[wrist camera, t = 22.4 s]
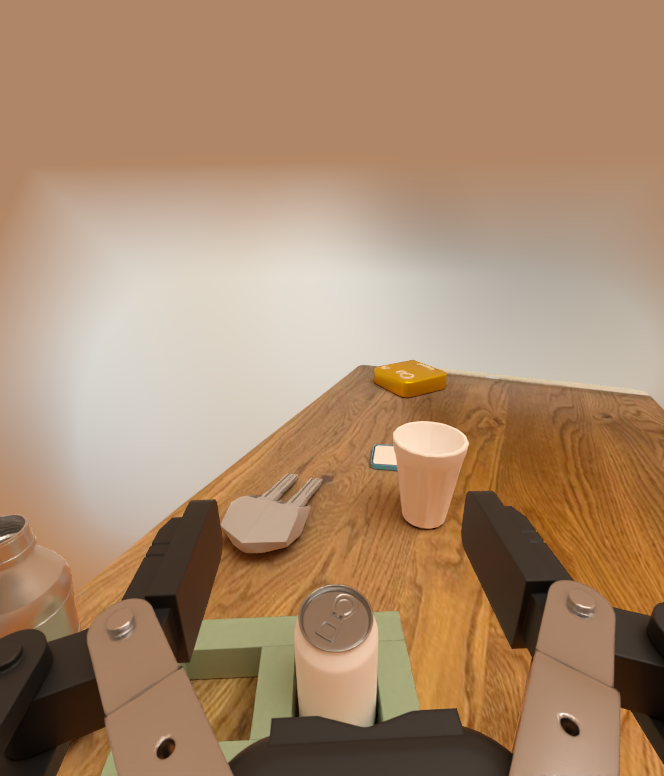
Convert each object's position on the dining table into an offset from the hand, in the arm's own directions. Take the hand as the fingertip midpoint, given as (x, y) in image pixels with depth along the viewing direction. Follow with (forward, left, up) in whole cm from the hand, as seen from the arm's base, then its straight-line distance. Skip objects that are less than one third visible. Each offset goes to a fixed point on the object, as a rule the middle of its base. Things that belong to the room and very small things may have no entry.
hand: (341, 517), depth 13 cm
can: (0, +11, -30) cm, 32 cm away
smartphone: (+16, +51, -30) cm, 61 cm away
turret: (-7, +37, -30) cm, 48 cm away
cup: (+14, +36, -30) cm, 49 cm away
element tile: (+24, +90, -30) cm, 98 cm away
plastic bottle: (-23, +12, -30) cm, 40 cm away
